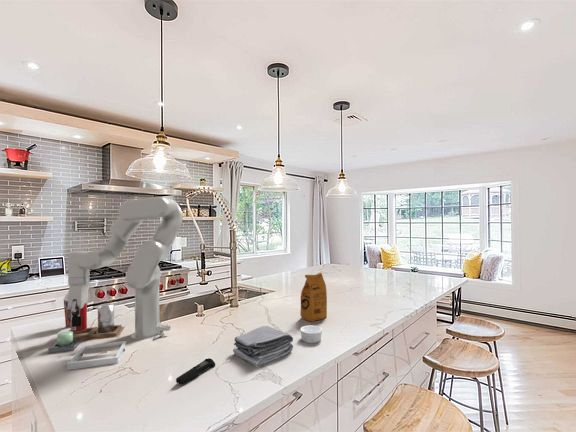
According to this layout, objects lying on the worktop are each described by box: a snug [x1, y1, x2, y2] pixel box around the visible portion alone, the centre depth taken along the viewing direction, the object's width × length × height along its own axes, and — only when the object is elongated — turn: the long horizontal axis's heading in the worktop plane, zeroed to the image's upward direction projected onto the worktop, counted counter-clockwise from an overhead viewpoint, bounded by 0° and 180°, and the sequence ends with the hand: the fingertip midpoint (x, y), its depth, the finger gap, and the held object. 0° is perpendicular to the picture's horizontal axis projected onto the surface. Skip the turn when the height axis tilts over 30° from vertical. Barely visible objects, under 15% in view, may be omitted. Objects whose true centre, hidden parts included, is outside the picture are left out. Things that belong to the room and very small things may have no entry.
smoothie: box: [63, 291, 71, 328], centre depth 145 cm, size 8×8×20 cm
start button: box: [56, 330, 73, 346], centre depth 119 cm, size 5×5×4 cm
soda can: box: [70, 302, 88, 333], centre depth 130 cm, size 6×6×12 cm
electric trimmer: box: [175, 357, 216, 385], centre depth 100 cm, size 4×16×3 cm, turn 153°
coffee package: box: [299, 272, 328, 323], centre depth 155 cm, size 10×12×22 cm
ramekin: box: [300, 324, 323, 344], centre depth 128 cm, size 9×9×4 cm
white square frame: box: [67, 340, 127, 370], centre depth 113 cm, size 15×15×2 cm
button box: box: [47, 338, 82, 354], centre depth 119 cm, size 8×8×3 cm
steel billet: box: [97, 302, 115, 333], centre depth 133 cm, size 6×6×12 cm
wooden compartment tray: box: [68, 324, 125, 342], centre depth 132 cm, size 22×13×3 cm, turn 107°
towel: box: [232, 325, 294, 368], centre depth 116 cm, size 15×18×8 cm
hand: (79, 323), depth 130 cm, fingers closed on soda can, 5 cm apart
